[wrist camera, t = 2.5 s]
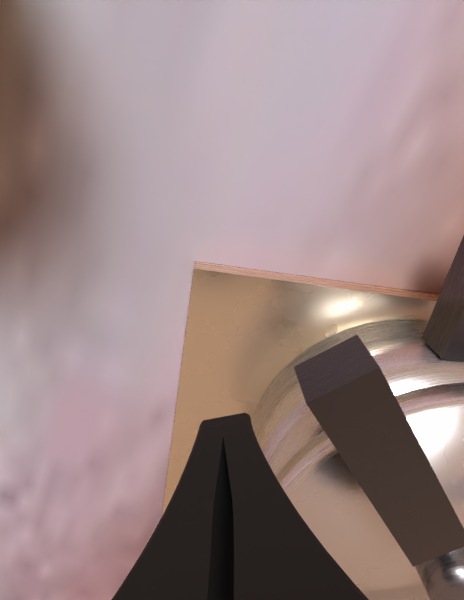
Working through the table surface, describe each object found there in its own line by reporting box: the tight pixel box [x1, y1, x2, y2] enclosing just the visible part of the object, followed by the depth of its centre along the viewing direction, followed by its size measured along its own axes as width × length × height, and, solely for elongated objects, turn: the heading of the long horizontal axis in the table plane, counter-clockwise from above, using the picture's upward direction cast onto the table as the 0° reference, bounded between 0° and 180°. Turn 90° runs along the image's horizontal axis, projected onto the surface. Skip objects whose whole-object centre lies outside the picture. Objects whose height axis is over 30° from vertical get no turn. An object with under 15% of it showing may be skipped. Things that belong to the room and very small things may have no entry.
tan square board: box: [162, 236, 464, 516], centre depth 19 cm, size 19×22×6 cm
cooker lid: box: [276, 335, 464, 600], centre depth 14 cm, size 18×15×3 cm
